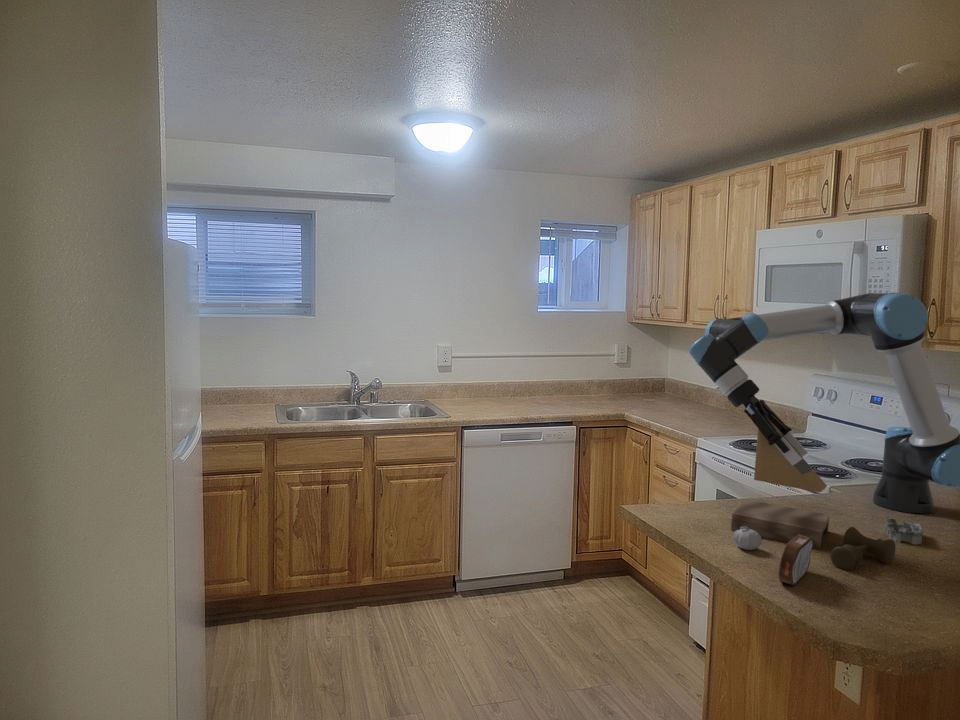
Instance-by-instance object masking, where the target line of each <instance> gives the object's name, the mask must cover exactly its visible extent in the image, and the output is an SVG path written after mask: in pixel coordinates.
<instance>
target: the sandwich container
mask: <svg viewBox="0 0 960 720" xmlns="http://www.w3.org/2000/svg"><path fill="white" fill-rule="evenodd" d="M770 422H771V421H770ZM771 423H772V422H771ZM772 424H773V423H772ZM773 426H774V427H775V429H776V430H777V431H778V433H779V434H780V435H781V437H782V438H783V437H784V438H785V436H784V435H783V434H782V433H781V432H780V430H779V429H778V428H777V427H776V426H775V425H774V424H773ZM756 436H757V437H756V438H757V439H756V449H755V450H756V452H755V462H754V473H753V474H754V475H753V480H754V481H758V482H763V483H769V484H772V485H779V486H784V487H789V488H793V489H794V488H795V489H799V490H805V491H809V492H814V493H815V492H816V493H821V492H823V491H824V490H825V489H826V488H827V487H828V485H827V484H826V483H825V481H823V479H822V478H821V477H820V476H819V475H818V473H816V471H815V470H814V469H813V468H812V467H811V466H810V465H809V462H807V461H806V460H805V459H804V458H803V457H802V456H801V455H800V454H799V453H798V452H797V450H796V449H795V448H794V447H793V446H792V445H791V443H790V442H789V441H788V440H787V439H786V438H785V440H786V441H787V442H788V443H789V444H790V445H791V446H792V448H793V449H794V450H795V451H796V452H797V453H798V454H799V456H800V457H801V458H802V460H800V461H799V462H797V463H796V464H795V465H793V466H792V465H791V464H790V462H789V461H788V460H787V459H786V458H785V457H784V455H783V454H782V453H781V452H780V451H779V450H778V448H777V447H776V446H775V445H774V444H773V445H769V444H768V443H769V442H768V441H767V439H766V438H765V436H764V435H763V434H762V433H761V431H760V430H759V429H758V428H757V435H756Z"/></svg>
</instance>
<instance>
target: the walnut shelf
mask: <svg viewBox="0 0 960 720" xmlns="http://www.w3.org/2000/svg"><path fill="white" fill-rule="evenodd" d="M730 525H731V526H730V531H732V530H733V531H732V532H735V531H737V530H740V527H743V526H747V527H748V529H751V530H754V531H756V532H757V533H758V534H759V535H760V536H761V538H765V539H770V540H775V541H780V542H785V543H788V542H789V541H791V540H792V539H793V538H794V537H796V536H797V535H798V534H801V535H803V536H806V537H810V538H811V539H812V540H813V547H812V549H818V550H821V548H822V541H823V534H828V532H829V526H830V514H827V513H826V514H825V513H821V512H816V511H811V510H804V509H799V508H793V507H788V506H782V505H778V504H772V503H767V502H762V501H757V500H750V499H745V500H744V501H743V502H742V503H741V504H740V506H738V507H737V508H736V509H735V510H734V511H733V512H732V515H731V523H730Z"/></svg>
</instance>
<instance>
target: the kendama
mask: <svg viewBox="0 0 960 720" xmlns="http://www.w3.org/2000/svg"><path fill="white" fill-rule="evenodd" d="M865 553H867V554H869V555H872V556H874V557H875V558H877V559H878V560H880V562H881V563H882V564H884V565H888V564H890V563H891V562H893V560H894V558H895V554H896V541H894V540H891V539H889V538H888V539H881V538H877V539H874V538H870V537H867V536H865V535H864V534H862V533H861V532H860V531H859V530H858V529H857V528H856V527H854V526H850V527H849V528H847V529H846V531H845V533H844V535H843V539H842V546H835V547H833V549H832V550H831V552H830V561H831V563H832V565H833V566H834V567H836V568H838V569H839V570H844V571H847V572H848V571H851V570H853V569H854V568H855V565H859V564H860V563H861V562H862V560H863V555H864V554H865Z"/></svg>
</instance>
